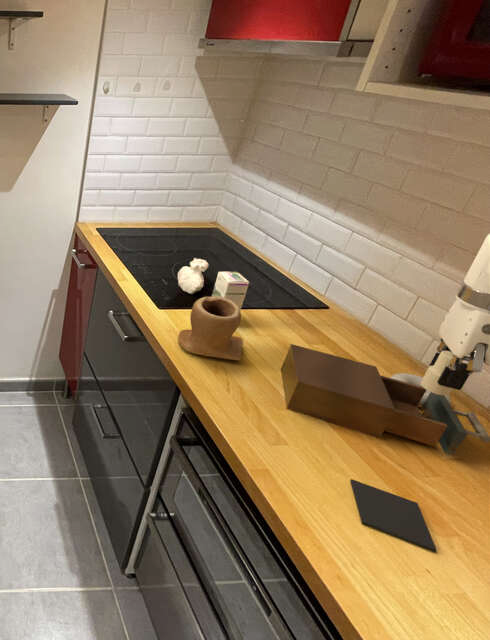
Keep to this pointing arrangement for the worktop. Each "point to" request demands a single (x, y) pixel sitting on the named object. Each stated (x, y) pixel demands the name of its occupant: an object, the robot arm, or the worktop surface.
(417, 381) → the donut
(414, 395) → the drawer
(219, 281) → the syrup box
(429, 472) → the worktop surface
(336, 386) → the cabinet
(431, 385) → the cream stepped cylinder
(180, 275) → the white lumpy blob
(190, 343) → the stone cup
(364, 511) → the mat
